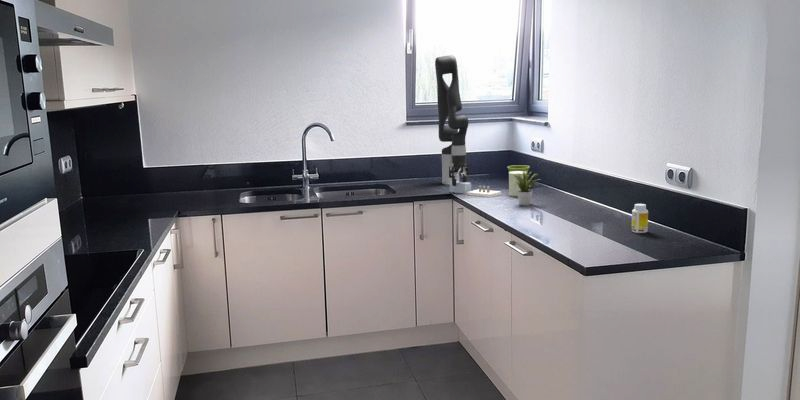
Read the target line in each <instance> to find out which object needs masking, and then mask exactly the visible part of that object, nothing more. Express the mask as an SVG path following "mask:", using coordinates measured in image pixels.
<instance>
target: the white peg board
mask: <svg viewBox="0 0 800 400" xmlns="http://www.w3.org/2000/svg"><path fill="white" fill-rule="evenodd" d="M466 195H467V196H473V197H483V198H484V197H485V198H492V197H496V196H500V195H502V191H501V190H500V191H499V190H490V186H489V185H487V186H485V185H478V189H473V190H471V191H469V192H467V193H466Z"/></svg>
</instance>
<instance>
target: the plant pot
mask: <svg viewBox="0 0 800 400" xmlns="http://www.w3.org/2000/svg"><path fill="white" fill-rule="evenodd" d="M506 168H507V169H508V173H509V172H512V171H525V172H527V174H529V173H528V172H529V169H530V165H524V164H523V165H522V164H521V165H520V164H519V165H516V164H515V165H508V166H507V167H506Z"/></svg>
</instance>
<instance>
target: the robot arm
mask: <svg viewBox="0 0 800 400" xmlns="http://www.w3.org/2000/svg"><path fill="white" fill-rule="evenodd" d="M434 60H435V61H434V67H435V69H434V70H435V75H436V77H435V78H436V88H437V90H436V91H437V93H436V94H437V96H436V97H437V98H436V99H437V112H438V140H439V141H440V142H442V143H443V142H444V143H445V142H449V143H451V144H449V145H448V146H446V147H443V148H442V149H441V173H442V174H441V175H442V176H441V177H442V180H441V181H442V182H441V183H442V185H446V186H450V183H451V182H452V186H456V181H457V182H460V174H461V177H462V178H461V180H462V181H461V182H467V181H468V180H467V179H468V176H470V164H469V163H467V147H466V137H467V132H468V129H469V118H468V117H467V115H465V114H461V115H458V114H457V113H459V112H460V111H462V110H463V104H462V100H461V95H460V84H459V83H460V82H459V70H458V62H457V59H456V57H455V56H454V55H453V54H452V55H450V54H449V55H442V56H439V57H436V58H435V59H434ZM447 74H451V82H450V85H448V84H447V83H446V81H445V79H444V77H443V75H447ZM446 122H447V124H446Z"/></svg>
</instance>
